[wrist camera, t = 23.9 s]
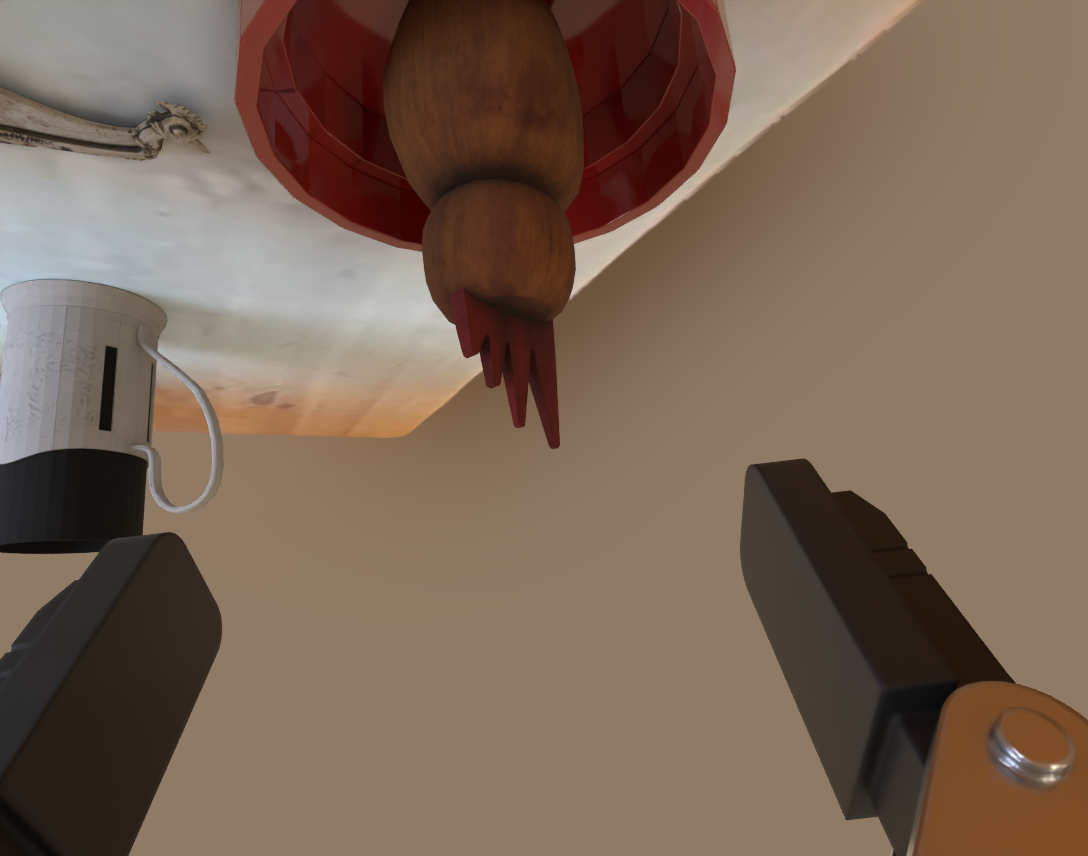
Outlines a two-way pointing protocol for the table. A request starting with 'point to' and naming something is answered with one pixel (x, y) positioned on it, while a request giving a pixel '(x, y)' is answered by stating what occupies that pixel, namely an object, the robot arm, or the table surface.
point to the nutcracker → (95, 130)
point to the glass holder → (82, 417)
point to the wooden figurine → (492, 178)
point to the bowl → (362, 131)
